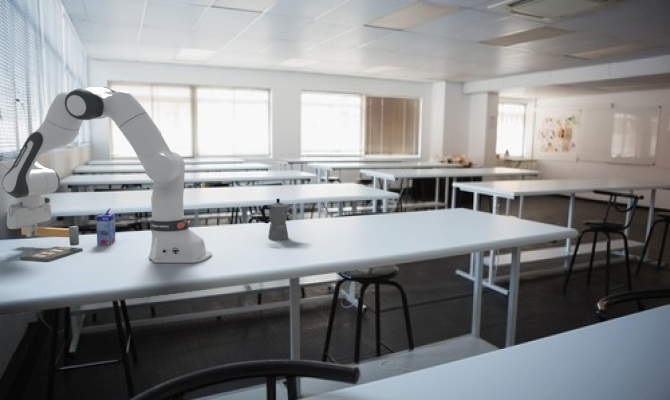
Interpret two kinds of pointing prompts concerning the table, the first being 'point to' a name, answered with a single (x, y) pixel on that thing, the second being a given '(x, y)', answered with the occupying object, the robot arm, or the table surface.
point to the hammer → (58, 233)
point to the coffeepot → (277, 220)
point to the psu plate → (51, 253)
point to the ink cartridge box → (105, 228)
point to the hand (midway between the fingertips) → (31, 235)
